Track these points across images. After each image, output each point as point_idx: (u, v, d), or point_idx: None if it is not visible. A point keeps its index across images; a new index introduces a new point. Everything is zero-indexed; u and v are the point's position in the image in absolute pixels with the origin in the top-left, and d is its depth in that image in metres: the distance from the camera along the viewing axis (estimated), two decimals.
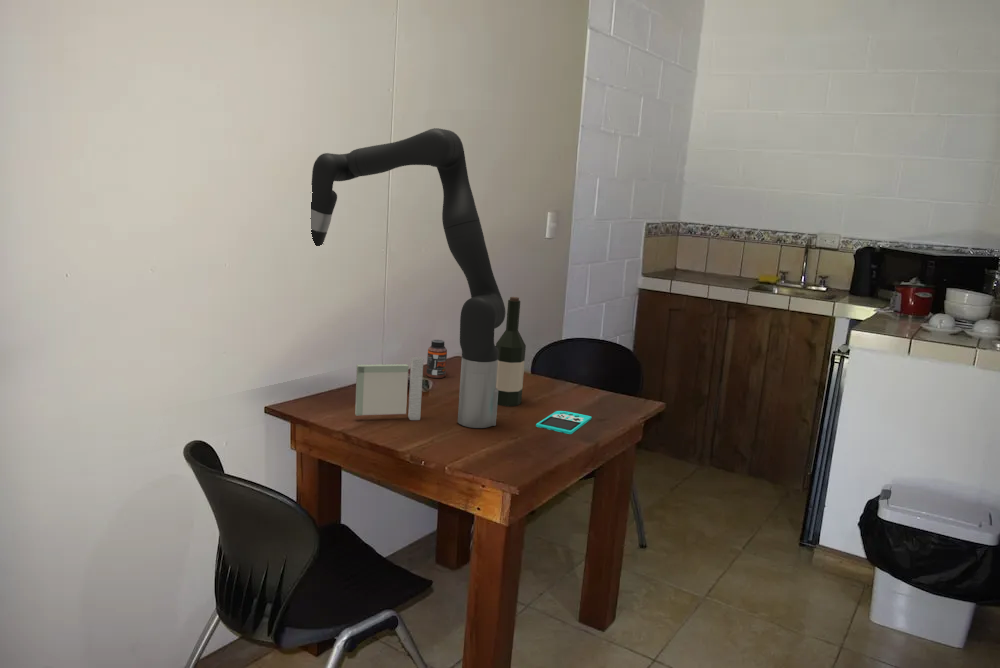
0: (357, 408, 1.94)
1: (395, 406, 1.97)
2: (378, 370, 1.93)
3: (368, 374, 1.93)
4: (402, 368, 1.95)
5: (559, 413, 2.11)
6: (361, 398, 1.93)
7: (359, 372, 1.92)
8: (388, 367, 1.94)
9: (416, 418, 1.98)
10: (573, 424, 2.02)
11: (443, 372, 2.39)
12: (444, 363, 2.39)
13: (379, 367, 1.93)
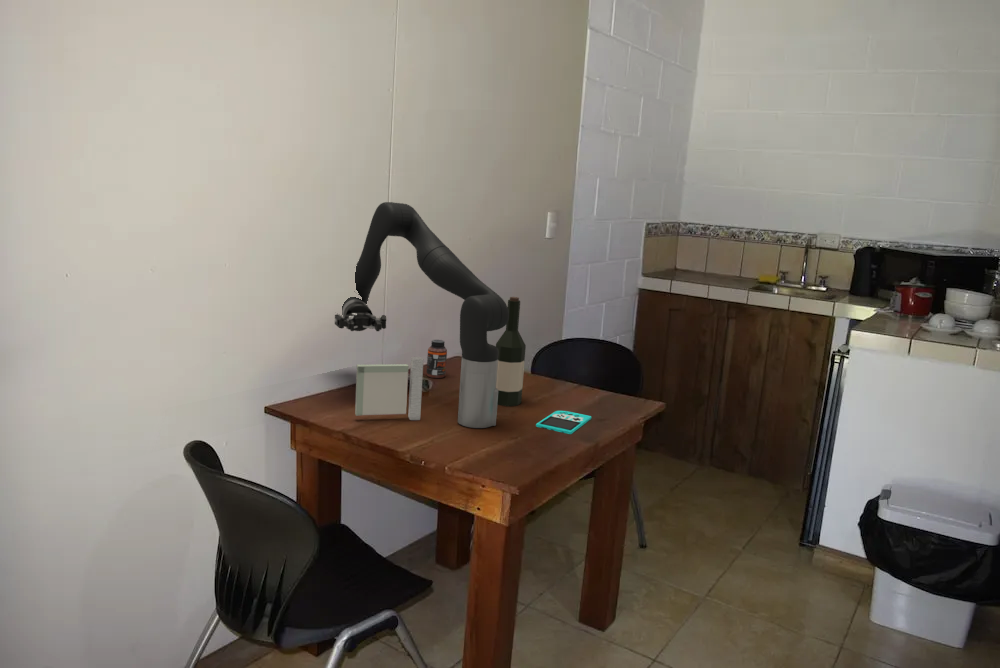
0: (357, 408, 1.94)
1: (395, 406, 1.97)
2: (378, 370, 1.93)
3: (368, 374, 1.93)
4: (402, 368, 1.95)
5: (559, 413, 2.11)
6: (361, 398, 1.93)
7: (359, 372, 1.92)
8: (388, 367, 1.94)
9: (416, 418, 1.98)
10: (573, 424, 2.02)
11: (443, 372, 2.39)
12: (444, 363, 2.39)
13: (379, 367, 1.93)
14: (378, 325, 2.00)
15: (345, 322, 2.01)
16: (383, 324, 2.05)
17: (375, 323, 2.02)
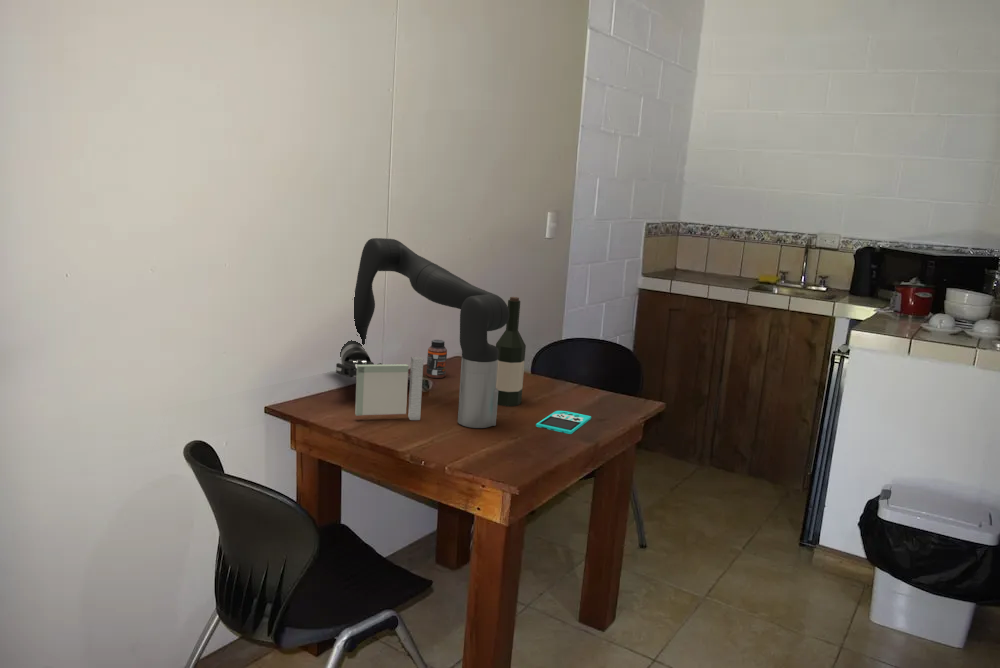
0: (357, 408, 1.94)
1: (395, 406, 1.97)
2: (378, 370, 1.93)
3: (368, 374, 1.93)
4: (402, 368, 1.95)
5: (559, 413, 2.11)
6: (361, 398, 1.93)
7: (359, 372, 1.92)
8: (388, 367, 1.94)
9: (416, 418, 1.98)
10: (573, 424, 2.02)
11: (443, 372, 2.39)
12: (444, 363, 2.39)
13: (379, 367, 1.93)
14: None
15: (355, 371, 2.04)
16: None
17: None
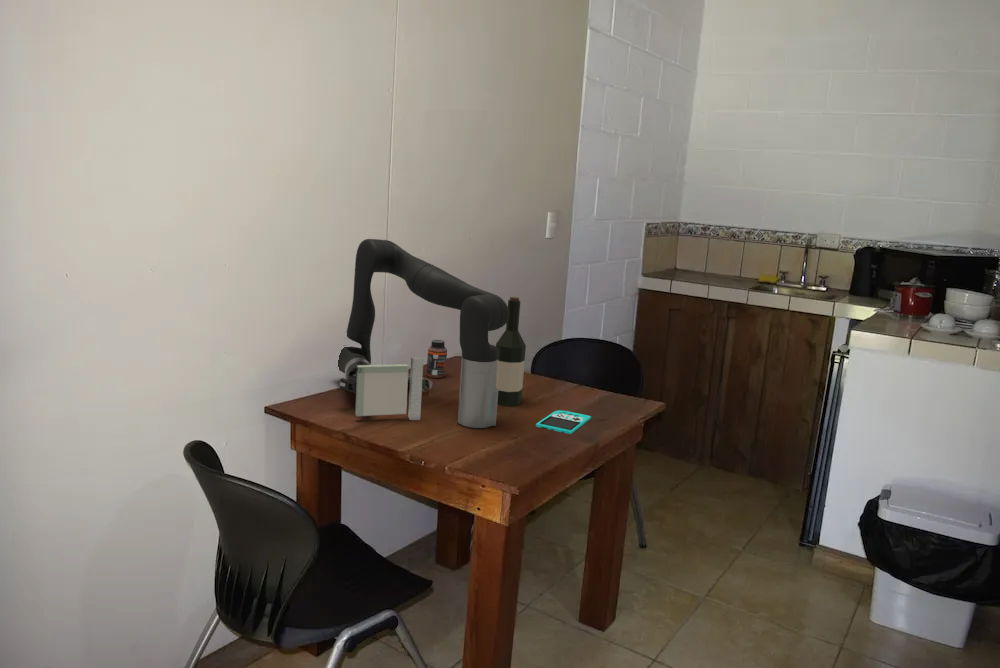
0: (358, 409, 1.93)
1: (395, 406, 1.97)
2: (378, 370, 1.93)
3: (368, 375, 1.92)
4: (402, 368, 1.95)
5: (558, 413, 2.11)
6: (362, 399, 1.93)
7: (360, 373, 1.91)
8: (388, 367, 1.93)
9: (416, 418, 1.98)
10: (573, 424, 2.02)
11: (443, 372, 2.39)
12: (444, 363, 2.39)
13: (379, 367, 1.93)
14: None
15: None
16: None
17: None
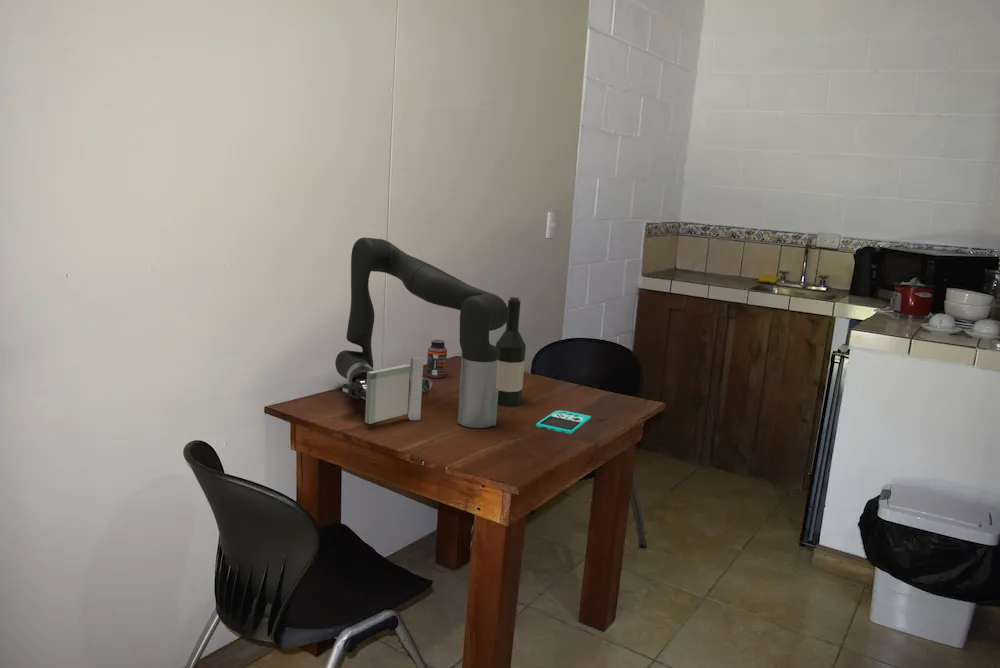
0: (370, 416, 1.88)
1: (399, 408, 1.95)
2: (387, 374, 1.90)
3: (379, 380, 1.88)
4: (405, 369, 1.94)
5: (558, 413, 2.11)
6: (374, 405, 1.88)
7: (372, 379, 1.86)
8: (395, 370, 1.92)
9: (416, 418, 1.98)
10: (573, 424, 2.02)
11: (443, 372, 2.39)
12: (444, 363, 2.39)
13: (388, 371, 1.90)
14: None
15: (362, 392, 1.93)
16: None
17: None
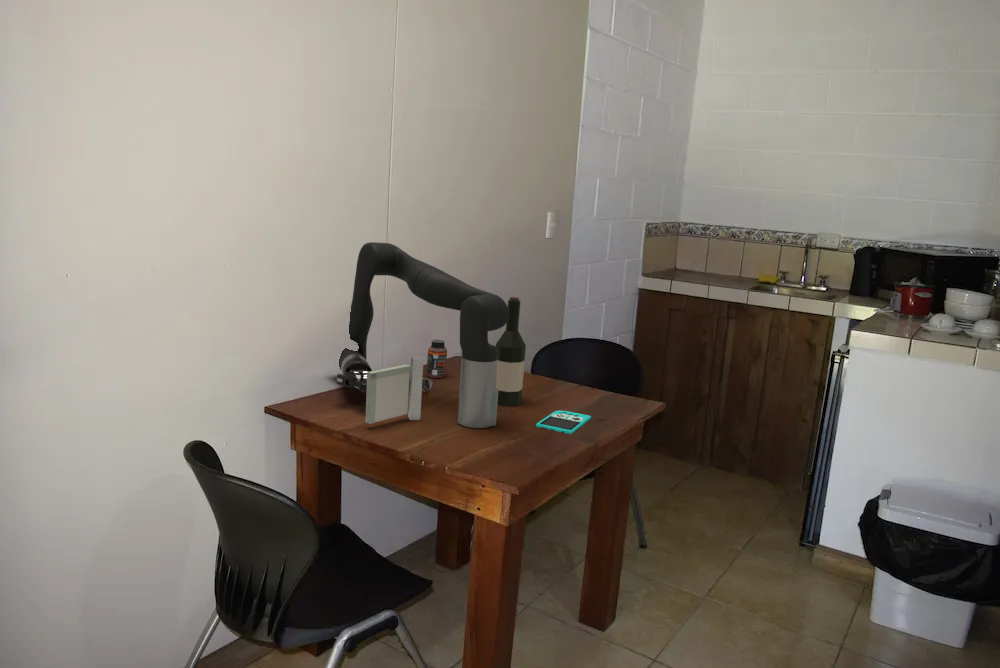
0: (371, 416, 1.88)
1: (399, 408, 1.95)
2: (387, 374, 1.90)
3: (379, 380, 1.88)
4: (405, 369, 1.94)
5: (558, 413, 2.11)
6: (374, 405, 1.88)
7: (373, 379, 1.86)
8: (395, 370, 1.92)
9: (416, 418, 1.98)
10: (573, 424, 2.03)
11: (443, 372, 2.39)
12: (444, 363, 2.39)
13: (388, 371, 1.90)
14: (366, 386, 1.98)
15: (356, 382, 2.01)
16: None
17: None
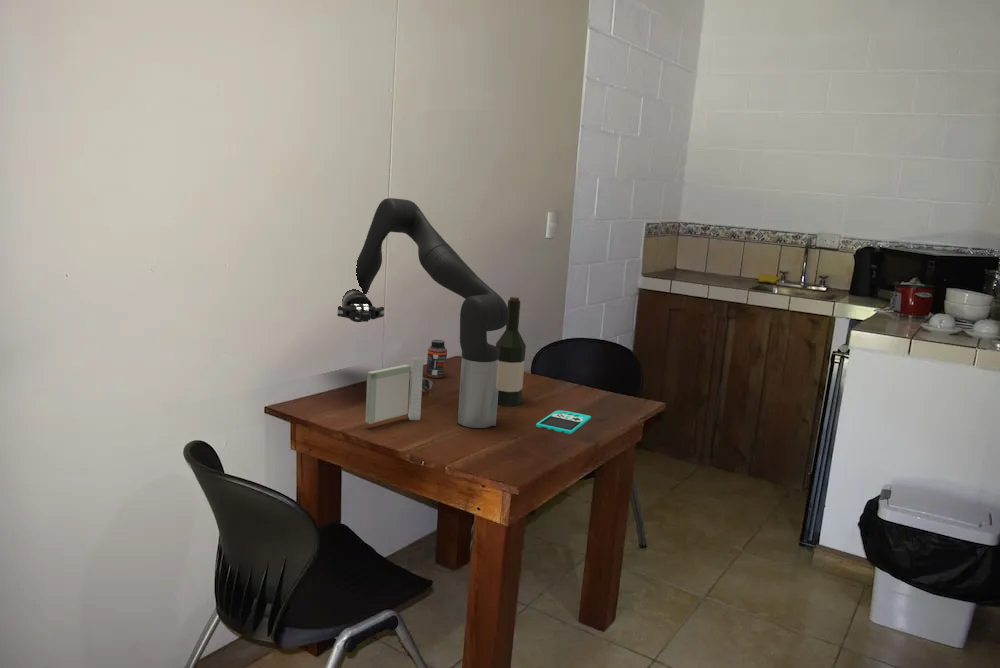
0: (371, 416, 1.88)
1: (399, 408, 1.95)
2: (387, 374, 1.90)
3: (379, 380, 1.88)
4: (405, 369, 1.94)
5: (559, 413, 2.11)
6: (374, 405, 1.88)
7: (373, 379, 1.86)
8: (395, 370, 1.92)
9: (416, 418, 1.98)
10: (573, 424, 2.03)
11: (443, 372, 2.39)
12: (444, 363, 2.39)
13: (388, 371, 1.90)
14: (367, 315, 1.99)
15: (356, 313, 2.02)
16: (372, 315, 2.04)
17: None
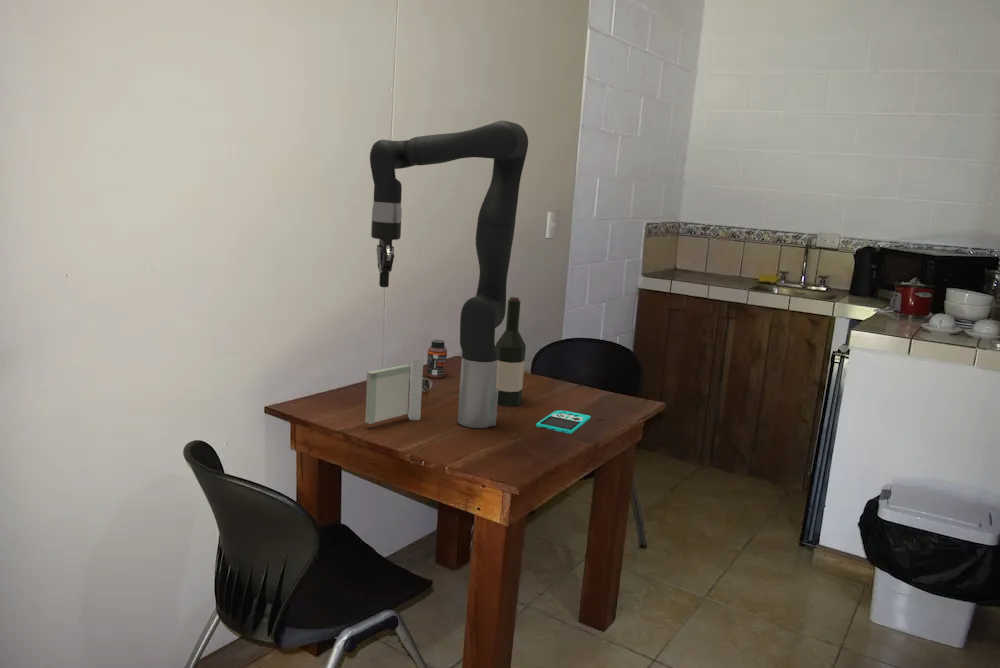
0: (371, 416, 1.88)
1: (399, 408, 1.95)
2: (387, 374, 1.90)
3: (379, 380, 1.88)
4: (405, 369, 1.94)
5: (558, 413, 2.11)
6: (374, 405, 1.88)
7: (373, 379, 1.86)
8: (395, 370, 1.92)
9: (416, 418, 1.98)
10: (573, 424, 2.03)
11: (443, 372, 2.39)
12: (444, 363, 2.39)
13: (388, 371, 1.90)
14: None
15: (387, 272, 2.01)
16: None
17: None
